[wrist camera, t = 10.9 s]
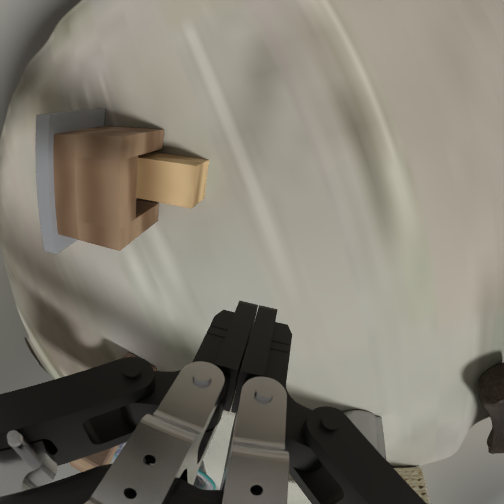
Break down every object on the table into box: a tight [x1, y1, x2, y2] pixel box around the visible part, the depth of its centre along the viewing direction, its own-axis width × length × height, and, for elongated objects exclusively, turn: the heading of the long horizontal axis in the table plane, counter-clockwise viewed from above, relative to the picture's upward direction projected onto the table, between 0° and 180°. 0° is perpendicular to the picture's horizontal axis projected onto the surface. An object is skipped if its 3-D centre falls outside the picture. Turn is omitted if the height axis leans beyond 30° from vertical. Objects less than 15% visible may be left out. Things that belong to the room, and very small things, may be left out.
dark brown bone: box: [478, 363, 504, 454], centre depth 34 cm, size 11×10×28 cm
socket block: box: [53, 126, 164, 251], centre depth 27 cm, size 8×10×8 cm
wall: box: [36, 109, 106, 254], centre depth 27 cm, size 2×14×9 cm, turn 171°
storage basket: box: [394, 467, 430, 504], centre depth 45 cm, size 24×16×15 cm
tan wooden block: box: [136, 152, 209, 208], centre depth 29 cm, size 10×4×4 cm, turn 81°
